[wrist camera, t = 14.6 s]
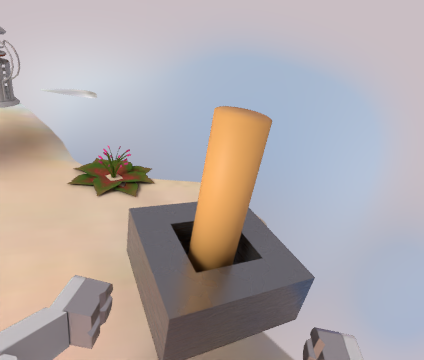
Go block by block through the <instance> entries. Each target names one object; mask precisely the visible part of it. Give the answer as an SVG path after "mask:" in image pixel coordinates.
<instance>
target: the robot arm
mask: <svg viewBox="0 0 424 360" xmlns="http://www.w3.org/2000/svg"><path fill="white" fill-rule="evenodd" d="M112 290H113V285H112V284H111V283H107V282H103V281H98V280H94V279H90V278H86V277H82V276H77V275H75V276H74V277H72V278H71V279H70V281H69V282H68V283H67V285H66V286H65V287H64V289H63V290H62V291H61V293H60V294H59V295H58V297H57V298H56V299H55V301H54V302H53V303H52V305H51V306H50V308H43V309H42V310H40V311H38V312H36V313H34V314H32V315H30V316H29V317H27V318H25V319H23V320H21V321H19V322H17V323H16V324H14V325H12V326H10V327H8V328H6V329H4V330H3V331H1V332H0V360H53V359H54V358H55V357H56V356H58V355H59V354H60V353H61V352H63V351H64V350H65V349H67V348H68V347H69V345H74V346H79V347H84V348H89V349H92V347H93V345H94V344H95V342H96V340H97V338H98V336H99V334H100V326H101V325H102V324H104V323H105V322H106V320H107V318H108V316H109V313H110V310H111V306H112V297H111V295H110V294H111V292H112ZM310 335H311V339H308V340H307V341H306V343H305V345H304V350H303V360H363V357H362V355H361V352H360V349H359V346H358V344H357V341H356V338H355V337H354V336H352V335H347V334H343V333H339V332H335V331H329V330H324V329H319V328H313V329H312V331H311V334H310Z"/></svg>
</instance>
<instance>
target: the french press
mask: <svg viewBox="0 0 424 360" xmlns="http://www.w3.org/2000/svg"><path fill="white" fill-rule="evenodd" d="M5 32H6V31H5V30H4V29H3V28H1V27H0V34H4V33H5ZM5 42H7V41H6V40H4V41H3V43H2V42H1V41H0V43H1V44H2V45H3V46H2V47H0V48H3V47H5V48H6V46H5ZM7 43H8V44H9V45H10V46H11V47H12V48H13V50H14V52H15V54H16V55H17V58H18V72H17V75H18V74H19V70H20V62H19V57H18V54H17V53H16V50H15V49H14V47H13V46H12V45H11V44H10V43H9V42H7ZM6 49H7V48H6ZM7 51H8V49H7ZM8 53H9V55H10V57H11V63H12V71H11V72H10V64H9V61H8V60H6V59H2V58H0V107H8V106H14V105H17V104H19V102H20V101H19V100H18V99H17V98H16V97H14V94H13V87H12V79H14V78H15V77H16V76H17V75H16V76H15V77H13V78H11V76H12V73H13V67H14V66H13V60H12V56H11V54H10V52H9V51H8ZM5 55H6V53H5V52H4V51H0V56H5ZM1 64H5V68H2V65H1ZM3 71H6V74H3ZM3 77H7V78H6V79H4V78H3ZM4 83H7V85H8V86H5V85H4Z"/></svg>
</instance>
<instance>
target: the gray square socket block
mask: <svg viewBox="0 0 424 360" xmlns="http://www.w3.org/2000/svg"><path fill="white" fill-rule="evenodd" d="M197 203H198V202H191V203H181V204H171V205H160V206H150V207H140V208H130V209H129V220H128V239H127V252H128V256H129V259H130V263H131V266H132V269H133V273H134V276H135V280H136V283H137V286H138V290H139V293H140V297H141V300H142V303H143V307H144V310H145V314H146V317H147V321H148V324H149V327H150V331H151V334H152V338H153V341H154V344H155V348H156V351H157V355H158V358H159V360H185V359H188V358H190V357H193V356H196V355H199V354H201V353H204V352H207V351H210V350H212V349H215V348H218V347H221V346H224V345H226V344H229V343H232V342H235V341H237V340H240V339H243V338H246V337H248V336H251V335H254V334H257V333H259V332H262V331H265V330H268V329H270V328H273V327H276V326H279V325H281V324H284V323H287V322H290V321H292V320H295V319H296V317H297V315H298V313H299V311H300V309H301V306H302V304H303V302H304V300H305V298H306V296H307V293H308V291H309V289H310V287H311V285H312V283H313V280H314V278H315V277H314V276H313V275H312V274H311V273H310V272H309V271H308V270H307V269H306V268H305V267H304V266H303V265H302V264H301V262H300V261H299V260H298V259H297V258H296V257H295V256H294V255H293V254H292V253H291V252H290V251H289V250H288V249H287V248H286V247H285V245H283V244H282V242H280V240H279V239H278V238H277V237H276V236H275V235H274V234H273V233H272V232H271V231H270V230H269V229H268V228H267V226H266V225H265V224H264V223H263V222H262V221H261V220H260V219H259V218H258V217H257V216H256V215H255V214H254V213H253V212H252V211H251V209H249V207H248V210H247V214H246V218H245V221H244V225H243V228H242V232H241V236H240V239H239V243H238V246H237V250H236V254H235V257H234V261H233V264H232V265H230V266H226V267H221V268H217V269H212V270H208V271H203V272H198V273H196V272H195V270H194V268H193V266H192V264H191V262H190V260H189V259H188V253H189V248H190V242H191V237H192V231H193V226H194V220H195V215H196V209H197Z"/></svg>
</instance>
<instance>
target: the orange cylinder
mask: <svg viewBox="0 0 424 360" xmlns="http://www.w3.org/2000/svg"><path fill="white" fill-rule="evenodd" d="M271 124H272V120H271V119H270V118H269V117H267V116H265V115H263V114H261V113H258V112H255V111H251V110H248V109H243V108H238V107H229V106H223V107H217V108H215V110H214V115H213V121H212V126H211V132H210V137H209V143H208V149H207V154H206V159H205V165H204V170H203V176H202V181H201V187H200V192H199V198H198V203H197V209H196V215H195V220H194V226H193V231H192V237H191V242H190V248H189V253H188V259H189V260H190V262H191V264H192V266H193V268H194V270H195V272H196V273H198V272H203V271H208V270H212V269H217V268H221V267H226V266H230V265H232V264H233V261H234V257H235V254H236V250H237V246H238V243H239V239H240V236H241V232H242V228H243V225H244V221H245V218H246V214H247V210H248V207H249V203H250V199H251V196H252V192H253V189H254V185H255V181H256V178H257V174H258V171H259V167H260V163H261V159H262V156H263V153H264V149H265V145H266V142H267V138H268V135H269V131H270V127H271Z"/></svg>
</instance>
